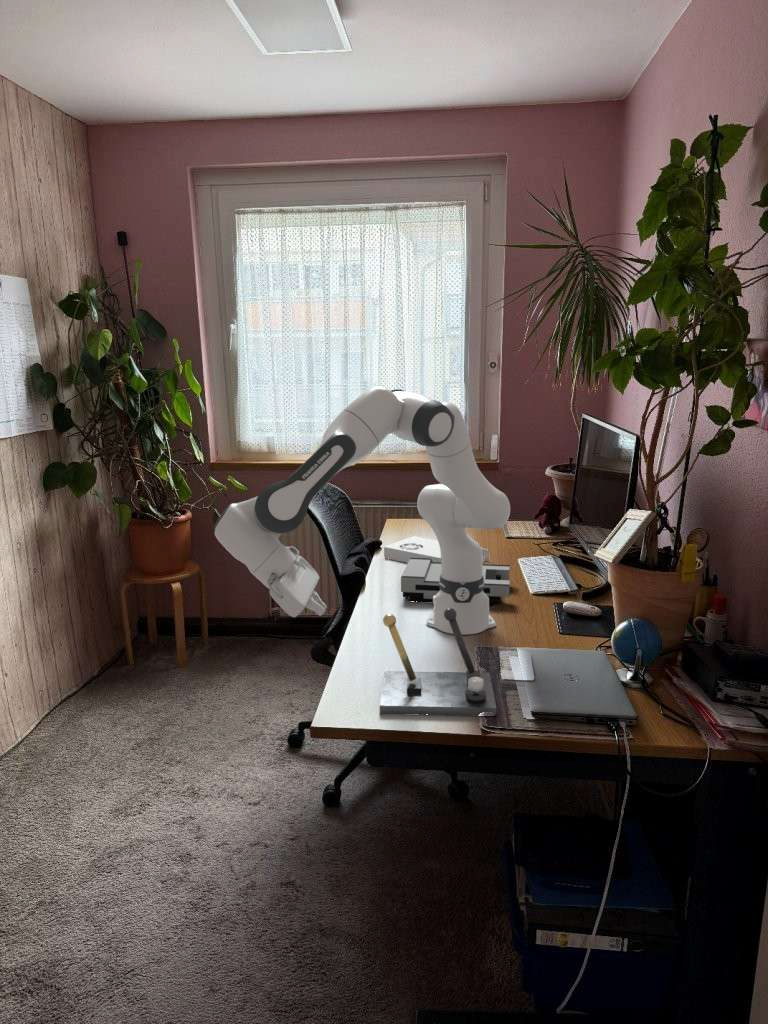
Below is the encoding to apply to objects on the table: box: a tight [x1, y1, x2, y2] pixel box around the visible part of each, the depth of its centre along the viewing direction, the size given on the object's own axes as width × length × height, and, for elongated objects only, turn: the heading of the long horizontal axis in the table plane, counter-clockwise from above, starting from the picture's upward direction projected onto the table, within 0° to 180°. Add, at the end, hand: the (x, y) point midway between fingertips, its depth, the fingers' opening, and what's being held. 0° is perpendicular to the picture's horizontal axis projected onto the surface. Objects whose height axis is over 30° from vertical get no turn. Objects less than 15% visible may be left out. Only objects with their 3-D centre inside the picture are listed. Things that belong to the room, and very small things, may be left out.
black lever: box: [444, 608, 476, 674], centre depth 152 cm, size 3×3×16 cm
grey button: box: [468, 677, 484, 692], centre depth 145 cm, size 3×3×2 cm
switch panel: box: [379, 670, 497, 717], centre depth 150 cm, size 16×24×3 cm, turn 86°
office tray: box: [400, 558, 511, 607], centre depth 215 cm, size 21×32×8 cm, turn 80°
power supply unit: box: [383, 535, 489, 564], centre depth 251 cm, size 19×33×5 cm, turn 53°
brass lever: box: [382, 613, 416, 681], centre depth 149 cm, size 3×3×16 cm
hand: (323, 611), depth 148 cm, fingers closed
